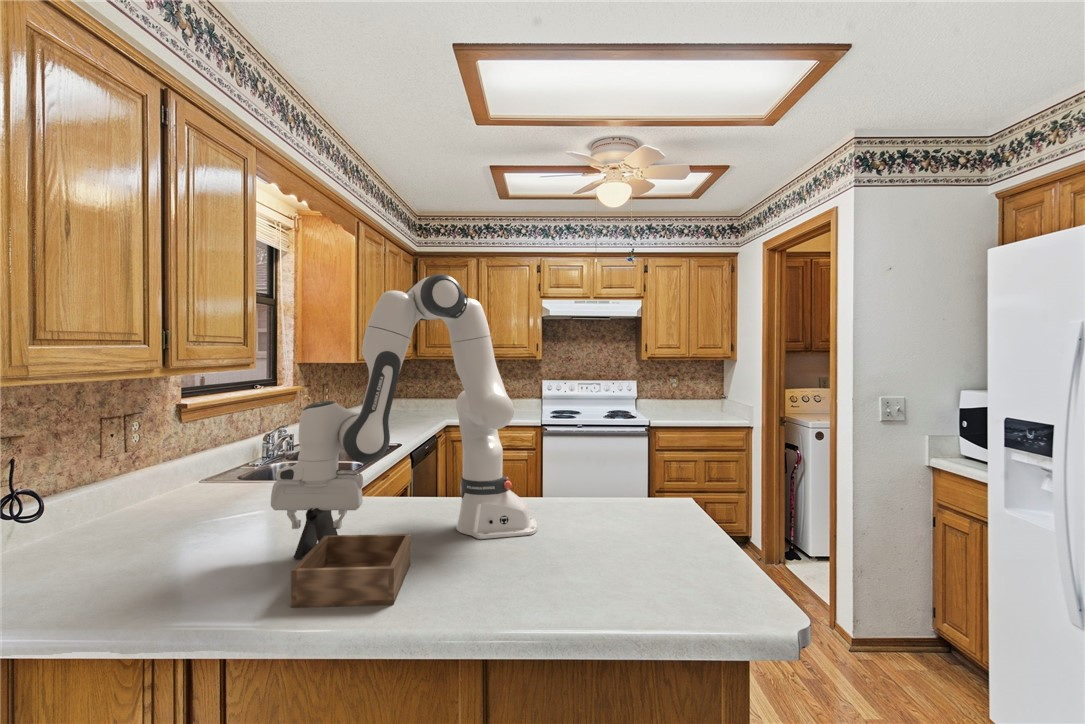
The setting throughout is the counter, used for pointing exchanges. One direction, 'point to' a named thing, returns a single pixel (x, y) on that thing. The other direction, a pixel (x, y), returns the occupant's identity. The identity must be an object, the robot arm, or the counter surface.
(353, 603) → the walnut box
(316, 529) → the phone stand
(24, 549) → the counter surface
